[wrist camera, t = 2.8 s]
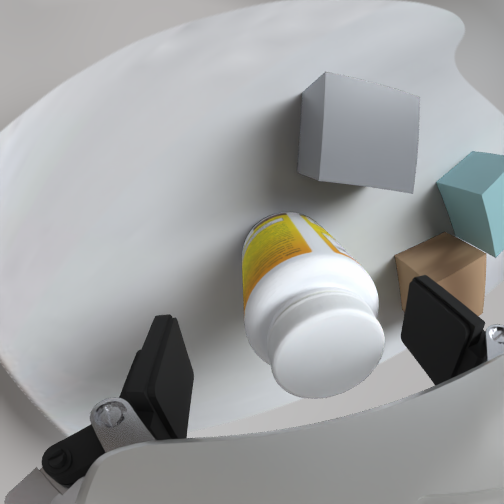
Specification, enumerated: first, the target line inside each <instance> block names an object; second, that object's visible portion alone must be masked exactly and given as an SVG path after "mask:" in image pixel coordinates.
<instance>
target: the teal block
mask: <svg viewBox="0 0 504 504" xmlns="http://www.w3.org/2000/svg"><path fill="white" fill-rule="evenodd" d="M436 183H437V186H438V188H439V191H440V193H441V196H442V198H443V201H444V203H445V206H446V209H447V212H448V214H449V217H450V220H451V223H452V226H453V229H454V232H455V236H457V237H459V238H460V239H462V240H464V241H466V242H468V243H470V244H472V245H474V246H475V247H477V248H479V249H481V250H483V251H485V252H486V253H488V254H490V255H492V256H493V257H495V258H496V257H497V256H498V255H499V254H500V253H501V252H502V251H503V250H504V155H497V154H491V153H483V152H475V151H472V152H471V153H470V154H469V155H468V156H466V157H465V158H464V159H463V160H462V161H461V162H459V163H458V164H457V165H456V166H455V167H454V168H452V169H451V170H450V171H449V172H448V173H447V174H445V175H444V176H443V177H442V178H441V179H439V180H438V181H437V182H436Z"/></svg>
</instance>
